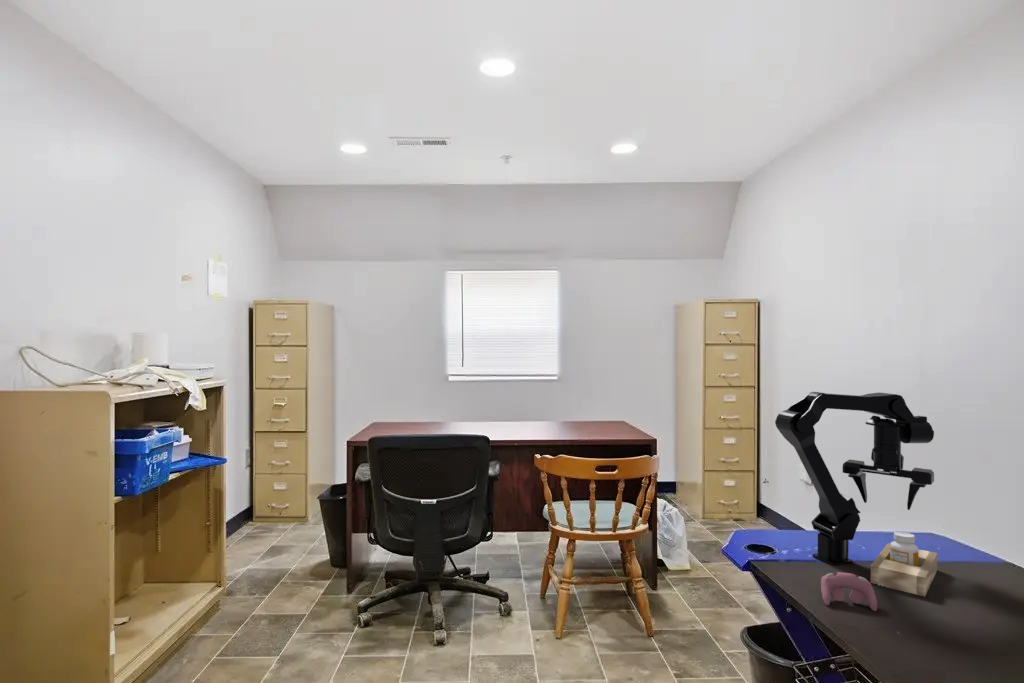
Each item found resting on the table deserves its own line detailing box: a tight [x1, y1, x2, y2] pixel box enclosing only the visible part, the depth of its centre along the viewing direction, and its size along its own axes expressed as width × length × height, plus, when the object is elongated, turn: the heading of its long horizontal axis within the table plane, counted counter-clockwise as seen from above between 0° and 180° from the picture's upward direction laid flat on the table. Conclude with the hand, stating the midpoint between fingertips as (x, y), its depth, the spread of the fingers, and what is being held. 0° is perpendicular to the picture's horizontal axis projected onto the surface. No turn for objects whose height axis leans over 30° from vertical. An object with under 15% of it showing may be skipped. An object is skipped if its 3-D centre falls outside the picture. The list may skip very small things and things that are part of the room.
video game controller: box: [820, 571, 878, 612], centre depth 120 cm, size 10×5×7 cm, turn 72°
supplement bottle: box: [890, 531, 919, 566], centre depth 134 cm, size 5×5×10 cm
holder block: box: [870, 542, 938, 597], centre depth 134 cm, size 10×20×4 cm, turn 138°
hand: (886, 506), depth 146 cm, fingers open, 9 cm apart
